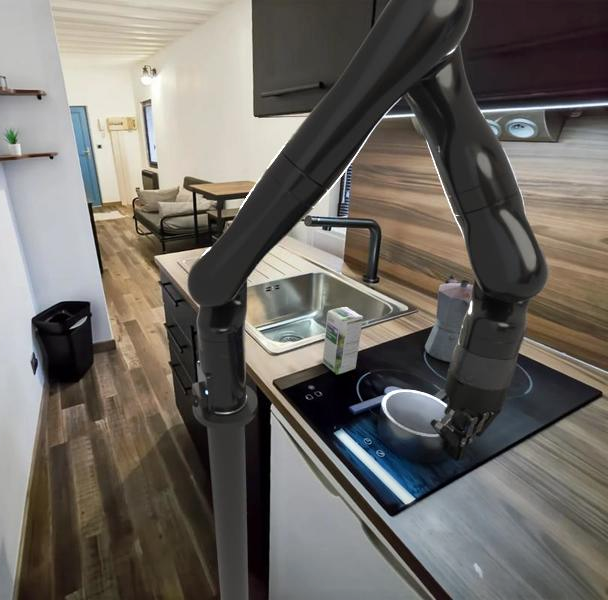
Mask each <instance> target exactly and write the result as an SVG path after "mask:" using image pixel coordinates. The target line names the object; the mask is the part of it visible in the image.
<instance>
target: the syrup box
mask: <svg viewBox="0 0 608 600" xmlns="http://www.w3.org/2000/svg"><path fill="white" fill-rule="evenodd" d="M363 321H364V316H363V315H361V314H358V312H356V311H354V310H353V309H350V308H349V307H347V306H344V307H337V308H334V309H330V310H327V314H326V323H325V333H324V334H325V335H324V343H323V352H322V353H323V354H322V364H323V365H325V366H326V367H327V368H328V369H329V370H331V371H332V372H333V373H334V374H335V375H341V374H344V373H347V372H349V371H353V370H355V369H356V367H357V360H358V354H359V346H360V341H361V333H362V327H363Z"/></svg>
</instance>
